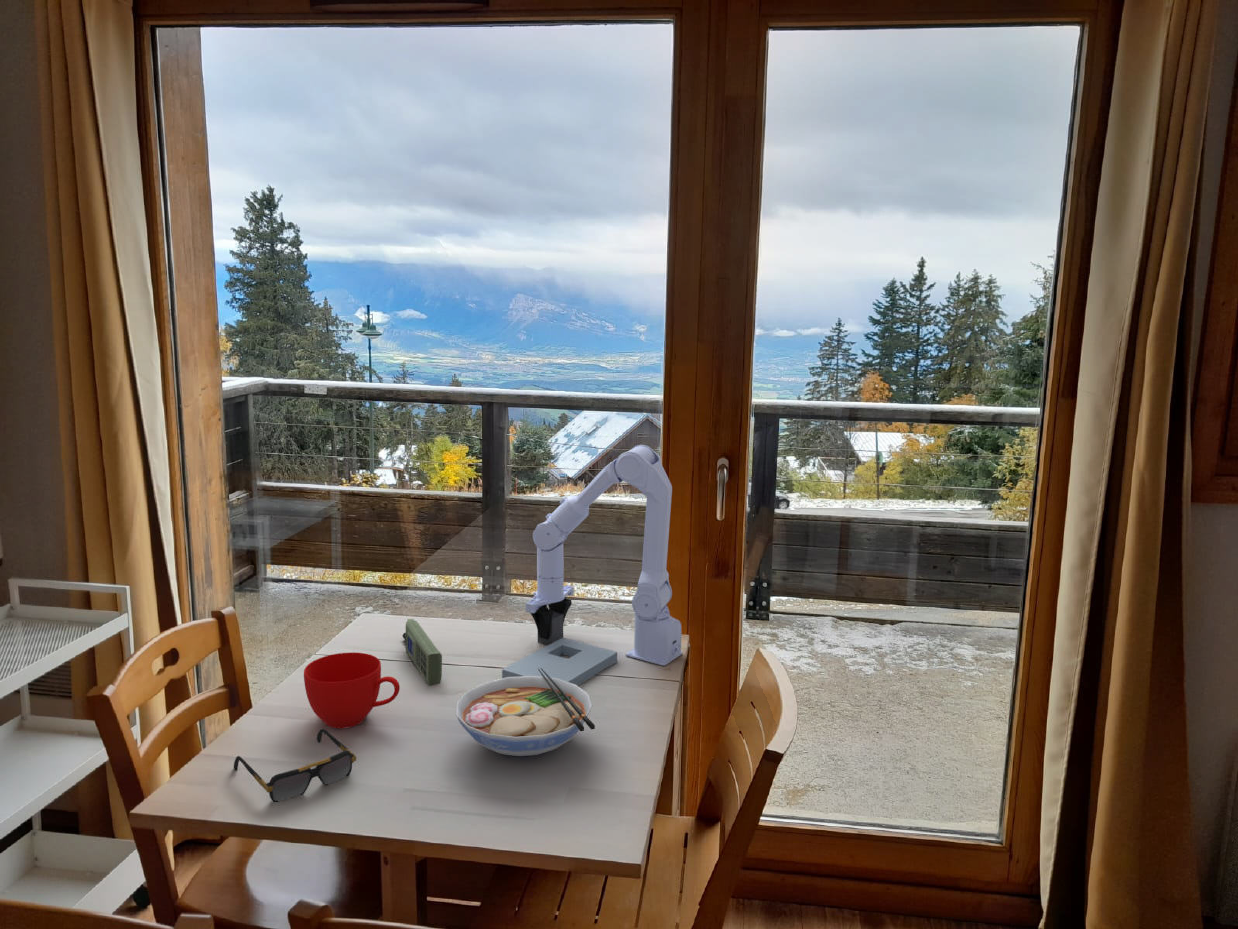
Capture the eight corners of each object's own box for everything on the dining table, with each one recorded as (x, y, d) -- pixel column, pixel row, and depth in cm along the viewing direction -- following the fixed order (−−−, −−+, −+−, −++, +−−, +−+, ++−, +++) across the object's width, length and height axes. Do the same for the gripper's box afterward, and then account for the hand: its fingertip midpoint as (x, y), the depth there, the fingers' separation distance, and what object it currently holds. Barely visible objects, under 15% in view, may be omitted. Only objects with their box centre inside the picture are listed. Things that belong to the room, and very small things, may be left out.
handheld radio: (426, 687, 173) (397, 642, 195) (442, 684, 174) (412, 640, 196) (426, 654, 172) (397, 612, 194) (443, 652, 173) (412, 610, 195)
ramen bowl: (443, 722, 158) (441, 679, 156) (566, 703, 166) (566, 661, 165) (472, 796, 135) (471, 746, 134) (614, 769, 143) (615, 722, 142)
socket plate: (617, 661, 185) (617, 652, 185) (559, 696, 169) (559, 686, 168) (562, 646, 193) (562, 637, 192) (502, 679, 176) (502, 669, 176)
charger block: (563, 640, 196) (563, 614, 195) (552, 646, 193) (552, 619, 192) (548, 636, 198) (548, 610, 197) (537, 641, 195) (537, 615, 194)
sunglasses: (318, 742, 151) (316, 715, 150) (360, 778, 140) (358, 749, 139) (233, 771, 142) (231, 742, 141) (271, 812, 131) (269, 781, 130)
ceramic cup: (383, 744, 150) (381, 688, 148) (291, 733, 154) (288, 678, 152) (415, 709, 163) (414, 657, 161) (330, 700, 166) (327, 649, 164)
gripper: (555, 563, 201) (555, 621, 203) (514, 580, 189) (514, 641, 191) (581, 569, 197) (581, 627, 200) (540, 586, 185) (541, 648, 188)
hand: (550, 634), depth 195 cm, fingers closed on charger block, 4 cm apart
